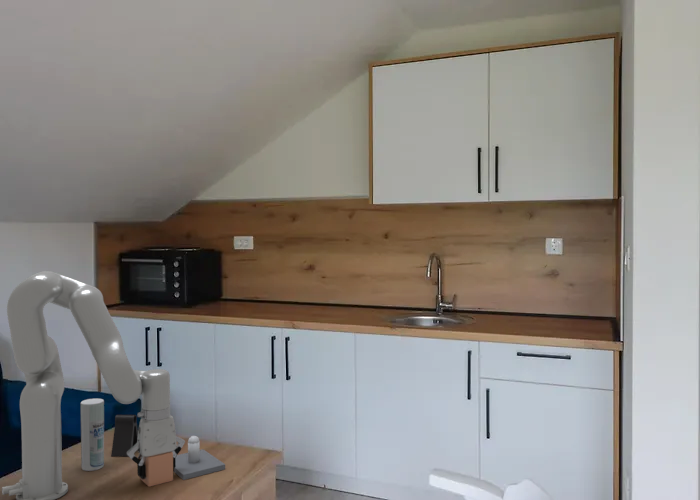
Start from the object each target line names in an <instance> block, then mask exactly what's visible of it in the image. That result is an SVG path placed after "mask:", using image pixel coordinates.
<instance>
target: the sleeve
mask: <svg viewBox="0 0 700 500" xmlns="http://www.w3.org/2000/svg"><path fill="white" fill-rule="evenodd" d="M144 465H145V479H143V480H142V479H141V478H140V477H139V478H140V480H141V481H142V482H143V483H144V484H145V485H147V487H153V486H157V485H160V484H161V485H162V484H165V483H169V482H172V481H174V472H173V452H169V453H165V454H160V455H156V456H151V457H146V460H145V462H144Z"/></svg>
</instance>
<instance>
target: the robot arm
mask: <svg viewBox="0 0 700 500" xmlns="http://www.w3.org/2000/svg"><path fill="white" fill-rule="evenodd" d="M47 304H52V305H56V306H58V307H61V308H64V309H67V310H70V313H71V314H72V317H73V318H74V320H75V322H76V324H77V326H78V328H79V329H80V332H81V333H82V335H83V337H84V340H85V341H86V343H87V345H88V347H89V349H90V352H91V354H92V356H93V359H94V360H95V363H96V364H97V366H98V369H99V370H100V374H101V375H102V378H103V379H104V382H105V384H106V385H107V387H108V389H109V391H110V393H111V395H112V396H113V398H114V399H115V401H117V402H118V403H119V404H123V405H129V404H132V403H135V402H137V400H138V399H140V397H142V401H141V402H142V407H141V411H140V412H137V415H136V416H137V418H141V419H140V421H139V425H138V440H137V443H136V444H135V445H134V446H133V447H132V448H130V449H129V450H128V451H127V455H128V456H129V457H128V458H130V459H131V461H133V462H134V463H135V464H136V465H137V476H138V477H139V478H141V479H142V480H143V479H145V465H144V462H145V460H146V457H151V456H156V455H160V454H165V453H169V452H173V473H175V472H174V468H175V467H176V461H175V458H176V457H177V455H179V453H180V452H181V451H182V448H183V447H184V445H185V443H186V440H185V439H183V438H181V437H179V436H177V433H176V425H175V420H174V416H173V415H171V391H170V390H171V389H170V388H171V387H170V386H171V383H170V382H171V381H170V380H171V379H170V377H171V376H170V373H169V370H166V369H162V368H155V369H149V370H140V369H138V370H137V369H133V367H132V365H131V362H130V361H129V359H128V356H127V353H126V351H125V348H124V343H123V339H122V336H121V333H120V331H119V329H118V327H117V326H116V323H115V322H114V320H113V318H112V316H111V314H110V312H109V310H108V308H107V306H106V303H105V301H104V296H103V293H102V291H101V290H100V289H99V288H97V287H95V286H93V285H90V284H88V283H85V282H82V281H79V280H76V279H74V278H71V277H68V276H66V275H64V274H63V275H62V274H60V273H59V272H54V271H50V270H49V271H48V270H43V271H40V272H37V273H34V274H32V275H30V276H28V277H27V278H25V279H24V280H22V281H21V282H20V283H19V284H17V286H16V287H15V288H14V289H13V290H12V292H11V293H10V295H9V298H8V300H7V307H6V312H7V313H6V314H7V320H8V321H7V322H8V326H9V331H10V332H9V333H10V339H11V345H12V349H13V350H12V351H13V356H14V357H13V358H14V361H15V365H16V366H17V368H18V370H19V371H21V372H22V373H24V379H25V384H26V385H24V387H23V389H22V390H21V393H20V396H19V397H20V399H19V411H20V423H21V424H20V425H21V428H20V429H21V462H22V463H21V469H22V470H21V472H22V473H21V478H19V481H18V482H16V483H15V484H13V485H6V486H2V487H1V492H2V494H1V495H3V496H4V495H7V494H8V496H9V497H10V496H15V499H16V500H57V499H59V498H61V497H63V496H65V495H66V494H67V493H68V491H69V485H68V483H67V482H65V481H63V475H62V474H63V472H62V471H63V469H62V468H63V465H62V463H63V462H62V461H63V460H62V458H63V457H62V454H63V453H62V447H63V446H62V441H63V440H62V413H61V412H62V410H61V402H62V396H63V394H64V391H65V379H64V375H63V370H62V364H61V359H60V353H59V349H58V345H57V343H56V342H55V340H54V339H53V338H52V337H50V336H49V335H48V331H47V325H46V320H45V319H46V318H45V316H44V315H45V314H44V308H45V306H46V305H47ZM136 452H137V453H138V456H136V455H135V453H136ZM141 479H140V480H141ZM142 480H141V481H142Z"/></svg>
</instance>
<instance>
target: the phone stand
mask: <svg viewBox="0 0 700 500" xmlns="http://www.w3.org/2000/svg"><path fill="white" fill-rule="evenodd" d="M137 418H138V416H137V415H136V414H116V415H115V417H114V429H113V439H112V445H111V455H110V456H111V457H128V458H130V457H129V456H128V455H127V451H128V450H129V449H130V448H132V447H133V446H134V445H135V444H136V443H137V440H138V430H139V427H138V423H137V422H138V421H137V420H138V419H137Z"/></svg>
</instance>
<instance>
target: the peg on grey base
mask: <svg viewBox="0 0 700 500" xmlns="http://www.w3.org/2000/svg"><path fill="white" fill-rule="evenodd" d="M200 444H201V442H200V438H199V437H198V435H197V436H196V435H191V436H190V437H189V438H188V441H187V452H184V453H180V454H177V457H176V458H175V461H176V467H175V468H174V472H173V473H175V474H176V475H177V476H179V478H180V479H182V480H183V481H185V480H188V479H193V478H196V477H201V476H205V475H208V474H211V473H217V472H220V471H223V470H226V463H224V462H223V461H221V460H220V459H218V458H217V457H216V456H215V455H213V454H211V453H209V452H208V451H206V450H205V449H202V448H201V447H200V446H201V445H200ZM200 448H201V449H200Z"/></svg>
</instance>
